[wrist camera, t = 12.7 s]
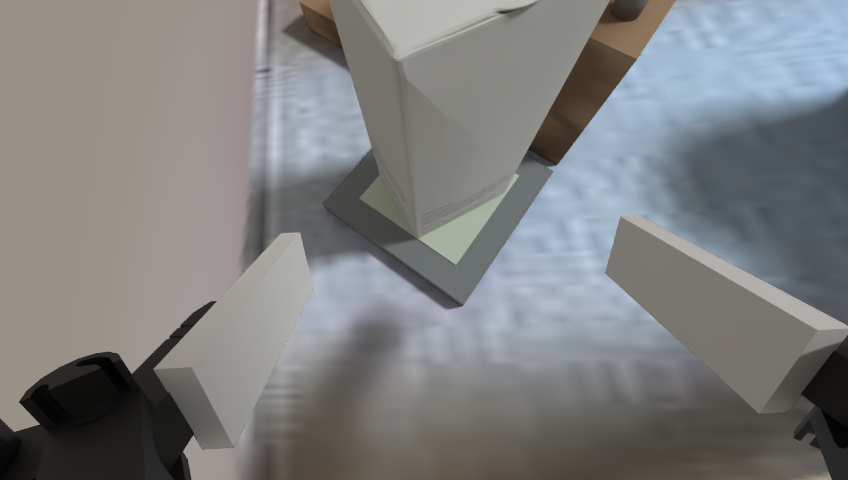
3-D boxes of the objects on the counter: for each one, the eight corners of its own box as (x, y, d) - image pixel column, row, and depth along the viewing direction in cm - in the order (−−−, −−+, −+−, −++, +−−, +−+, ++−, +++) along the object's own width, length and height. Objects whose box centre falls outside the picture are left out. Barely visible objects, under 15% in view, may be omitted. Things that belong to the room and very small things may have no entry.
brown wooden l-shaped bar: (588, 118, 27) (696, -28, 16) (554, 169, 25) (649, 43, 15) (350, -7, 32) (314, -179, 22) (309, 28, 30) (247, -140, 20)
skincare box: (465, 135, 25) (526, -164, 10) (510, 197, 23) (662, -57, 8) (374, 177, 24) (294, -95, 9) (414, 247, 22) (394, 49, 7)
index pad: (548, 177, 25) (553, 170, 24) (461, 306, 21) (463, 304, 20) (422, 104, 27) (422, 95, 26) (326, 209, 24) (322, 203, 23)
